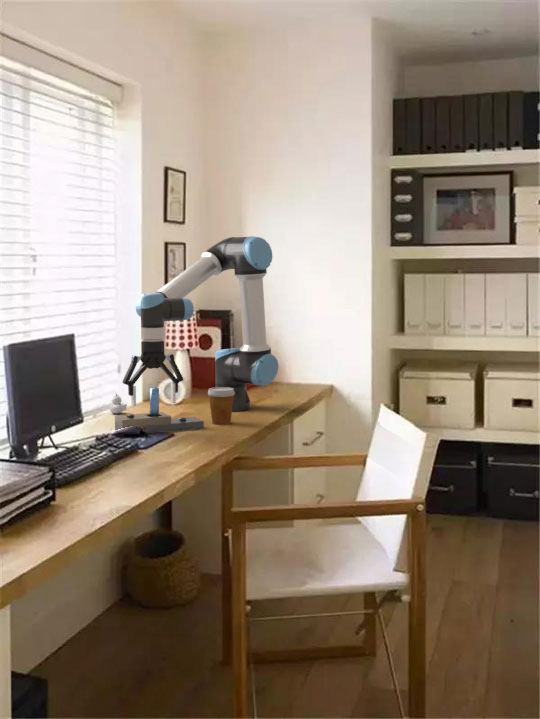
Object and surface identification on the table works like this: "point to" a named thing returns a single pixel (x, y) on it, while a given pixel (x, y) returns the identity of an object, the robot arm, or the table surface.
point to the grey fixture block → (158, 422)
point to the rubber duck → (117, 405)
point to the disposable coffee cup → (221, 404)
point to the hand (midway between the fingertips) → (153, 404)
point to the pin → (154, 402)
